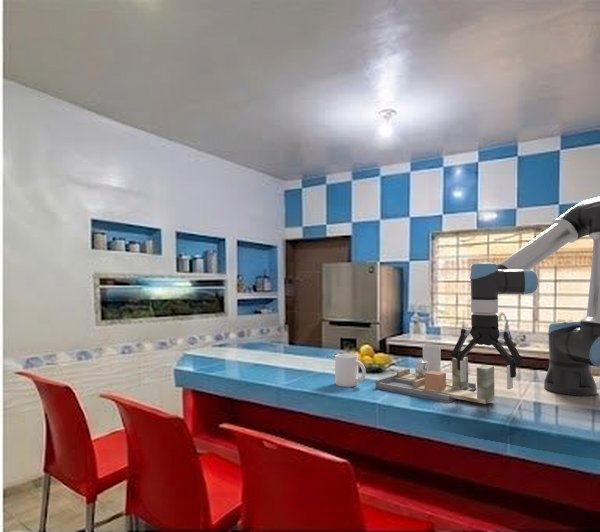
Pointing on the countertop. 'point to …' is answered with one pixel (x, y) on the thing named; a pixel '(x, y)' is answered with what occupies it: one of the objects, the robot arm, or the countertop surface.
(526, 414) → the countertop surface
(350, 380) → the mug
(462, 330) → the robot arm
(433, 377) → the terracotta cube
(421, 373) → the tin can
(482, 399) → the strip
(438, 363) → the grey bookend
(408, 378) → the strip
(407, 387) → the lane board
